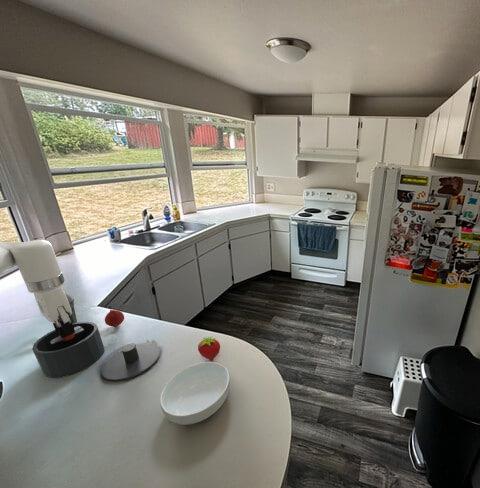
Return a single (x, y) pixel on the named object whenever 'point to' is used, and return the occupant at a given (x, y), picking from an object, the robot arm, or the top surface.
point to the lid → (130, 361)
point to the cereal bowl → (195, 393)
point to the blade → (59, 338)
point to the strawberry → (209, 348)
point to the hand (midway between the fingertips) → (66, 332)
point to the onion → (114, 318)
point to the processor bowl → (69, 351)
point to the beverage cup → (73, 315)
